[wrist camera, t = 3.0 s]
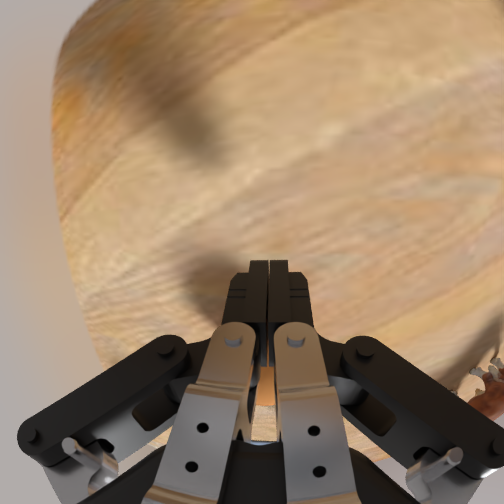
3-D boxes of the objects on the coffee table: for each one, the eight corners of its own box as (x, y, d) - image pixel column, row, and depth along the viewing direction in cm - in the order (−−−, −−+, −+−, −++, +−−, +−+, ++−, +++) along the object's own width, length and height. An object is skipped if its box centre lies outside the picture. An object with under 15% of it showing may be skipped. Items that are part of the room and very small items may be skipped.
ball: (225, 304, 18) (210, 372, 14) (310, 306, 18) (317, 377, 13) (231, 354, 21) (221, 415, 17) (301, 357, 21) (303, 419, 16)
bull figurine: (416, 412, 27) (427, 466, 20) (493, 345, 20) (520, 405, 13) (435, 412, 27) (447, 462, 20) (507, 349, 20) (532, 403, 14)
